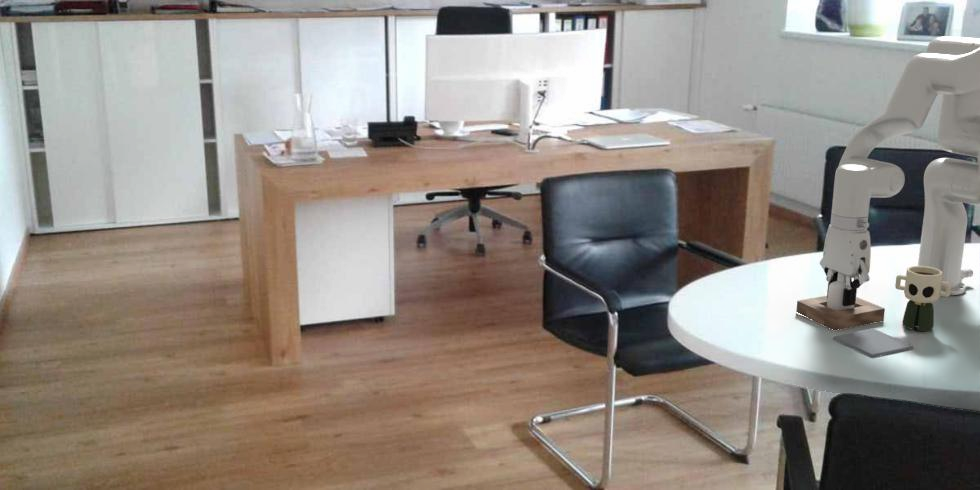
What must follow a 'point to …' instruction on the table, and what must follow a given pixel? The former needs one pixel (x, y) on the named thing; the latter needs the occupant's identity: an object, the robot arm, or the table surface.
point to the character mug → (921, 295)
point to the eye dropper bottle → (837, 294)
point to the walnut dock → (840, 313)
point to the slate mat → (872, 342)
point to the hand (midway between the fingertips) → (840, 301)
